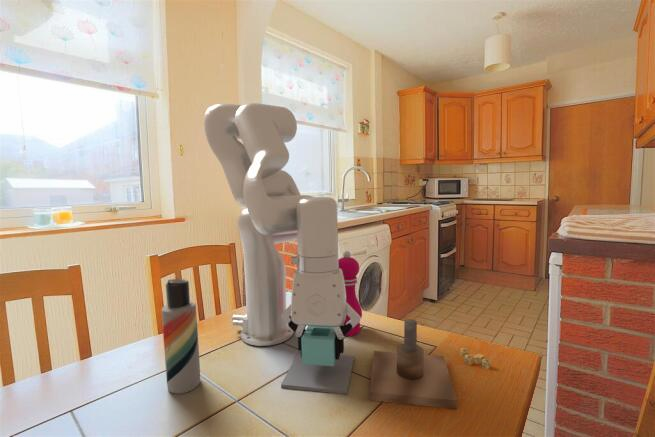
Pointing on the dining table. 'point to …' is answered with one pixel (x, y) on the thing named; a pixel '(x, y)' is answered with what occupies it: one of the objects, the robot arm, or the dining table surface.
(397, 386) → the stand
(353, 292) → the pepper mill
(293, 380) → the mat
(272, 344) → the robot arm
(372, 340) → the dining table surface
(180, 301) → the lotion bottle
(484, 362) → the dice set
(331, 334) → the collar
